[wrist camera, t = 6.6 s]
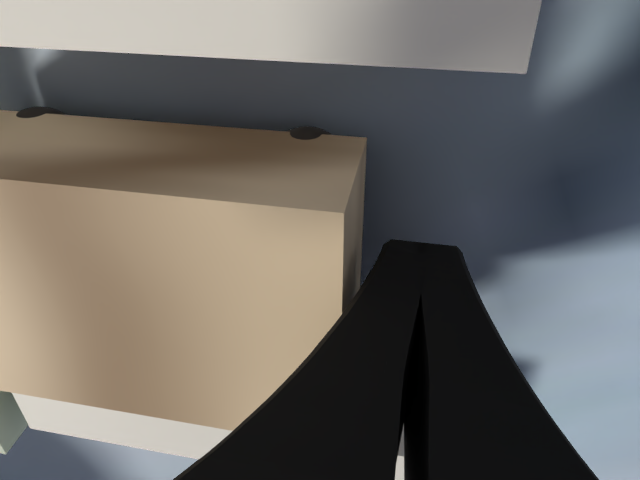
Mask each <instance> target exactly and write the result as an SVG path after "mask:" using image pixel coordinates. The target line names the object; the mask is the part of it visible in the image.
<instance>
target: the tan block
mask: <svg viewBox="0 0 640 480" xmlns="http://www.w3.org/2000/svg"><path fill="white" fill-rule="evenodd" d="M366 149H367V138H365V137H352V136H339V135H332V134H331V133H329V132H327V131H325V130H323V129H320V128H316V127H310V126H304V127H298V128H294V129H291V130H288V131H272V130H259V129H246V128H233V127H219V126H206V125H193V124H180V123H166V122H153V121H140V120H127V119H113V118H100V117H87V116H74V115H66V114H65V113H63V112H61V111H58V110H55V109H52V108H47V107H31V108H27V109H23V110H21V111H7V110H0V391H5V392H11V393H17V394H23V395H28V396H34V397H40V398H46V399H52V400H57V401H63V402H69V403H75V404H81V405H86V406H92V407H98V408H104V409H109V410H115V411H121V412H127V413H133V414H138V415H144V416H150V417H156V418H162V419H167V420H173V421H179V422H185V423H190V424H196V425H202V426H208V427H214V428H219V429H225V430H231V431H233V430H234V429H235V428H236V427H238V426H239V425H240V424H241V423H242V422H243V421H244V420H245V419H246V418H247V417H248V416H249V415H251V414H252V413H253V412H254V411H255V410H256V409H257V408H258V407H259V406H260V405H261V404H262V403H264V402H265V401H266V400H267V399H268V398H269V397H270V396H271V395H272V394H273V393H274V392H275V391H276V390H277V389H278V388H279V387H280V386H281V385H282V384H283V383H284V382H285V381H286V380H287V378H288V377H289V376H290V375H291V374H292V373H293V372H294V371H295V370H296V369H297V368H298V367H299V366H300V364H301V363H302V362H303V361H304V360H305V359H306V358H307V357H308V355H309V354H310V353H311V352H312V351H313V350H314V348H315V347H316V346H317V345H318V343H319V342H320V341H321V340H322V339H323V337H324V336H325V335H326V334H327V332H328V331H329V330H330V329H331V328H332V326H333V325H334V324H335V323H336V321H337V320H338V319H339V317H340V316H341V315H342V313H343V312H344V311H345V309H346V308H347V306H348V305H349V303H350V302H351V301H352V299H353V298H354V296H355V295H356V293H357V292H358V291H359V289H360V278H361V256H362V235H363V213H364V192H365V170H366Z"/></svg>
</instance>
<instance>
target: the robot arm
mask: <svg viewBox="0 0 640 480" xmlns="http://www.w3.org/2000/svg"><path fill="white" fill-rule="evenodd" d="M403 424H404V480H599V479H598V478H597V477H596V476H595V474H594V473H593V472H592V470H591V469H590V468H589V467H588V465H587V464H586V463H585V462H584V460H583V459H582V458H581V457H580V455H579V454H578V453H577V452H576V450H575V449H574V447H573V446H572V445H571V443H570V442H569V441H568V439H567V438H566V437H565V435H564V434H563V433H562V431H561V430H560V429H559V427H558V426H557V425H556V423H555V422H554V420H553V419H552V418H551V416H550V415H549V413H548V412H547V410H546V409H545V407H544V406H543V405H542V403H541V402H540V400H539V399H538V397H537V396H536V394H535V393H534V391H533V390H532V388H531V386H530V385H529V383H528V382H527V380H526V379H525V377H524V375H523V374H522V372H521V371H520V369H519V367H518V366H517V364H516V363H515V361H514V359H513V358H512V356H511V354H510V352H509V351H508V349H507V347H506V346H505V344H504V342H503V340H502V338H501V336H500V335H499V333H498V331H497V329H496V327H495V325H494V324H493V322H492V320H491V318H490V316H489V314H488V312H487V310H486V308H485V306H484V304H483V302H482V300H481V298H480V296H479V294H478V292H477V289H476V287H475V285H474V283H473V280H472V278H471V276H470V273H469V271H468V268H467V266H466V263H465V260H464V257H463V253H462V252H461V251H460V250H459V248H458V247H457V246H449V245H440V244H430V243H421V242H411V241H402V240H392V239H391V240H389V241H388V242H386V243H385V244H384V245H383V247H382V250H381V252H380V255H379V257H378V259H377V261H376V263H375V264H374V266H373V268H372V270H371V271H370V273H369V275H368V276H367V278H366V280H365V281H364V283H363V284H362V286H361V288H360V289H359V291H358V292H357V293H356V295H355V296H354V298H353V299H352V301H351V302H350V303H349V305H348V306H347V308H346V309H345V311H344V312H343V313H342V315H341V316H340V317H339V319H338V320H337V321H336V323H335V324H334V325H333V326H332V328H331V329H330V330H329V331H328V332H327V334H326V335H325V336H324V337H323V339H322V340H321V341H320V342H319V343H318V345H317V346H316V347H315V348H314V350H313V351H312V352H311V353H310V354H309V355H308V357H307V358H306V359H305V360H304V361H303V362H302V363H301V364H300V366H299V367H298V368H297V369H296V370H295V371H294V372H293V373H292V374H291V375H290V376H289V377H288V378H287V380H286V381H285V382H284V383H283V384H282V385H281V386H280V387H279V388H278V389H277V390H276V391H275V392H274V393H273V394H272V395H271V396H270V397H269V398H268V399H267V400H266V401H265V402H264V403H262V404H261V405H260V406H259V407H258V408H257V409H256V410H255V411H254V412H253V413H252V414H251V415H249V416H248V417H247V418H246V419H245V420H244V421H243V422H242V423H241V424H240V425H239V426H238V427H236V428H235V429H234V430H233V431H232V432H231V433H230V434H229V435H228V436H226V437H225V438H224V439H223V440H222V441H221V442H219V443H218V444H217V445H216V446H215V447H214V448H212V449H211V450H210V451H209V452H208V453H206V454H205V455H204V456H203V457H201V458H200V459H199V460H197V461H196V462H195V463H194V464H192V465H191V466H190V467H188V468H187V469H186V470H185V471H183V472H182V473H181V474H180V475H178V476H177V477H176V478H174V479H173V480H395V471H396V462H397V457H398V451H399V446H400V441H401V435H402V430H403Z"/></svg>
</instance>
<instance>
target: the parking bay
mask: <svg viewBox="0 0 640 480" xmlns="http://www.w3.org/2000/svg"><path fill="white" fill-rule="evenodd" d="M541 3H542V0H0V46H2V47H21V48H40V49H59V50H78V51H97V52H116V53H135V54H154V55H173V56H192V57H211V58H230V59H249V60H268V61H287V62H306V63H325V64H344V65H363V66H382V67H401V68H420V69H439V70H458V71H477V72H496V73H515V74H526V73H527V68H528V63H529V59H530V54H531V50H532V45H533V40H534V36H535V31H536V26H537V22H538V17H539V12H540V8H541ZM28 425H29V427H30V429H36V430H41V431H47V432H52V433H57V434H63V435H68V436H74V437H79V438H85V439H90V440H96V441H101V442H107V443H112V444H118V445H123V446H128V447H134V448H139V449H145V450H150V451H156V452H161V453H167V454H172V455H178V456H183V457H189V458H194V459H200V458H201V457H203V456H204V455H205V454H206V453H208V452H209V451H210V450H211V449H212V448H214V447H215V446H216V445H217V444H218V443H219V442H221V441H222V440H223V439H224V438H225V437H226V436H228V435H229V434H230V433H231V432H232V431H231V430H225V429H219V428H214V427H208V426H202V425H196V424H190V423H185V422H179V421H173V420H167V419H162V418H156V417H150V416H144V415H138V414H133V413H127V412H121V411H115V410H109V409H104V408H98V407H92V406H86V405H81V404H75V403H69V402H63V401H57V400H52V399H46V398H40V397H34V396H28V395H23V394H17V393H11V392H5V391H0V453H2V454H7V453H8V452H9V450H10V449H11V448H12V446H13V445H14V444H15V442H16V441H17V440H18V438H19V437H20V436H21V434H22V433H23V432H24V430H25V429H26V428H27V426H28ZM395 480H404V424H403V430H402V435H401V441H400V446H399V451H398V457H397V462H396V471H395Z"/></svg>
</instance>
